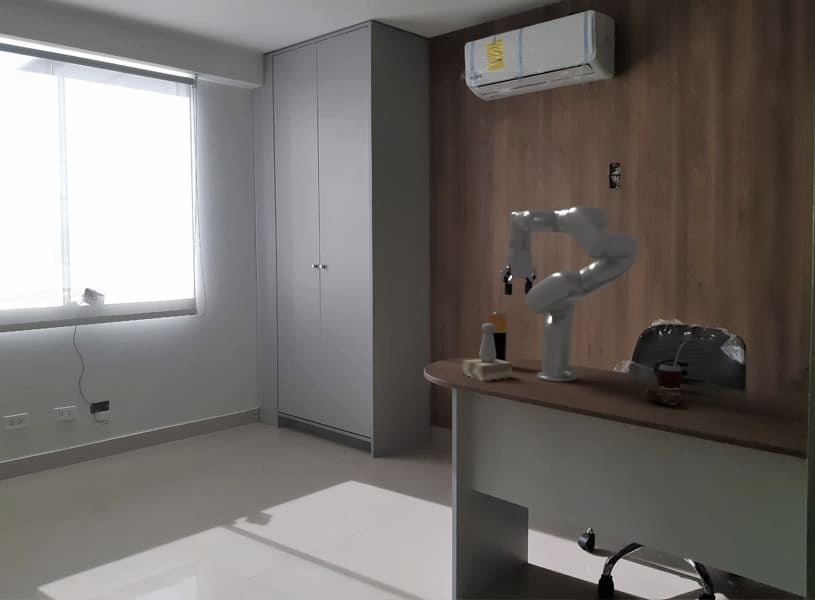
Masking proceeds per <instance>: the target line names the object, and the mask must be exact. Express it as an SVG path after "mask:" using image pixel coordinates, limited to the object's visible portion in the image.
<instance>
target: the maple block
mask: <svg viewBox="0 0 815 600" xmlns="http://www.w3.org/2000/svg"><path fill="white" fill-rule="evenodd" d="M461 370H462V374H464V375H463V376H465V375H467V376H466V377H468V376H470V377H469V378H472V379H475V380H479V381H482V382H486V380H487V381H492V380H491V379H496V380H498V379H497V378H505V379H508V378H507V377H512V378H513V363H512V362H510V361H507V360H506V361H502V360H498V359H495V360H494V362H492V363H485V362H482V361H481V358H474V359H463V360H462V369H461Z"/></svg>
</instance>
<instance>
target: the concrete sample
mask: <svg viewBox="0 0 815 600" xmlns="http://www.w3.org/2000/svg"><path fill="white" fill-rule="evenodd" d="M643 394H644V396H645V397H646V398H647V399H649V400H651V401H654V402H658V401H659V403H660V402H663V403H662V404H663V405H668V404H673V403H677V402H678V401H680V400H681V401H682V398H683V394H682V392H680V391H672V390H668V389H659V388H658V387H649V386H648V387H647V388H645V391H644V393H643ZM681 401H680V402H681ZM678 403H679V402H678Z"/></svg>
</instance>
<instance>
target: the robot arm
mask: <svg viewBox="0 0 815 600" xmlns="http://www.w3.org/2000/svg"><path fill="white" fill-rule="evenodd" d="M609 224H610V215H609V213H608V212H607V211H606V210H605V209H604V208H603V207H600V206H593V205H576V206H575V205H574V206H570V207H567V206H566V207H564V208H562V209H561V210H540V209H538V210H537V209H528V210H527V209H526V210H524V211H523V210H522V211H519V210H517V211H511V212H510V215H509V232H508V233H509V237H508V238H509V239H508V241H509V242H508V250H507V251H506V254H505V260H504V268H503V269H501V270H500V271H499V274H500V277H501V280H502V281H503V284H504V295H506V296H512V295H513V283H512V282H513V281H514V279H524V280H525V282H524V293H525V294H527V295H526V299H525V301H526V302H525V303H526V307H527V308H528V309H529V311H530V312H531V313H533V314H536V315H546V316H545V318H544V322H543V325H542V326H543V329H542V359H541V360H542V362H541V363H542V364H541V366H542V367H541V371H540V372H538V373H537V374H536V375H537V376H536V377H537V378H538V379H540V380H542V381H543V380H544V381H549V382H550V381H551V382H571V381H574V380H576V376H578V371H575V370H574V366H573V365H572V349H573V347H572V345H573V343H572V342H573V322H574V320H573V319H574V314H575V309H576V306H577V305H576V304H577V301H581V300H584V299H585V300H586V299H587V298H588V297H590V296H592V295H594V294H595V293H597V292H599V291H600V290H602V289H603V288H605V287H606V286H609V285H610V284H612V283H614V282H615V281H617V280H619V279H620V278H622V277H623V276H624V275H626V274H627V273H629V271H630V270H631V269H632V267H633V266H634V264H635V262H636V260H637V256H638V254H639V253H638V251H639V245H638V242H637V240H636V238H635V237H634V236H633V235H632V234H629V233H627V232H624V231H617V230H616V231H615V230H614V231H612V230H611V231H607V230H606V229H607V228H608V226H609ZM532 233H564V234H566V235H568V234H570V235H571V237H572V238H573V240H575V242H576V243H577V244H578V246H579V247H580V248H581V250H582V251H583V252H584V253H585V255H587V256H588V257H590V258H591V259H594V261H592V262H591V263H590V264H588V265H586V266H585V267H583V268H580V269H578V270H562V271H556V272H554V273H552V274H550V275H548V276H547V277H545V278H544V279H543V280H540V281H539V282H538V283H536V284H535V285H533V283H535V280H536V278H537V275H538V269H536V268H534V267H533V264H534V263H533V254H532V250H531V247H532V243H531V242H532V241H531V238H532V237H531V236H532Z"/></svg>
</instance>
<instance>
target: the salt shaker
mask: <svg viewBox="0 0 815 600" xmlns="http://www.w3.org/2000/svg"><path fill="white" fill-rule="evenodd" d="M481 330H482V331H483V334H482V339H481V343H480V349H479V353H478V356H479V359H481V361H482V362H485V363H492V362H494V360H495V358H496V349H495V343H494V336H493V331H494V330H495V326H494V325H493V324H489V323H483V324H482V326H481Z"/></svg>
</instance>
